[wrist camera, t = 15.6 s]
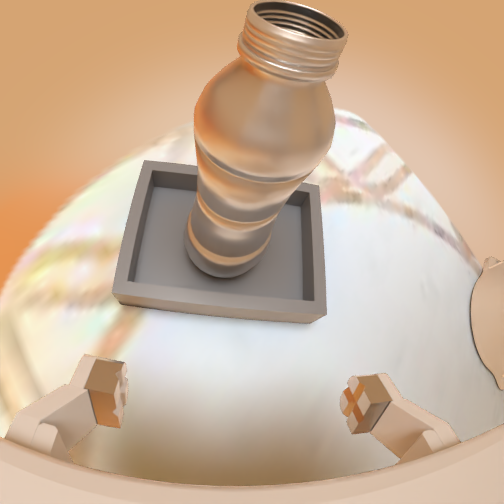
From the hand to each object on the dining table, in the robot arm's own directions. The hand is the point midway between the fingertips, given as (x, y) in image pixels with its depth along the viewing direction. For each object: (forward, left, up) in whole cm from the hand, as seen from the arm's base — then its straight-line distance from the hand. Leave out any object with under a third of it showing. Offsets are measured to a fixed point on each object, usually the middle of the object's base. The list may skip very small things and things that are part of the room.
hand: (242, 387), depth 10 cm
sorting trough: (0, -11, -14) cm, 18 cm away
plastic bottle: (0, -11, -13) cm, 17 cm away
